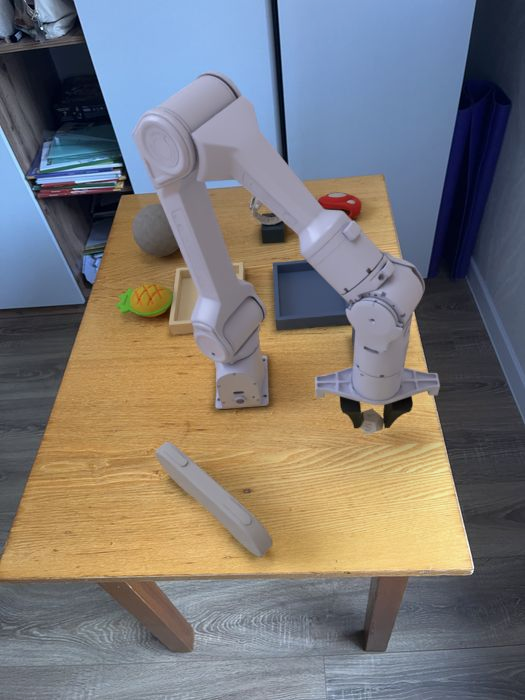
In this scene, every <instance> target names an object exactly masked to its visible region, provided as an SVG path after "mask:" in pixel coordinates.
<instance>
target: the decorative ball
mask: <svg viewBox="0 0 525 700" xmlns="http://www.w3.org/2000/svg"><path fill="white" fill-rule="evenodd" d="M131 230H132V231H131V232H132V237H133V239H134V241H135V243H136V245H137V246H138V248H140V250H142V251H143V252H144V253H146V254H147V255H150V256H152V257H167V256H170V255H172V254H173V253H175V252H176V251H178V249H180V248H179V246H178V243H177V241H176V238H175V236H174V234H173V231H172V229H171V226H170V224H169V221H168V219H167V217H166V214H165V212H164V209H163V207H162V205H161V203H152V204H148V205H147V206H144V207H142V208H141V209H140V210H139V211H138V212H137V214H135V216H134V218H133V222H132V227H131Z"/></svg>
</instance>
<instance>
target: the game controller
mask: <svg viewBox="0 0 525 700" xmlns="http://www.w3.org/2000/svg"><path fill="white" fill-rule="evenodd" d="M154 456H155V458H156V460H157V461H158V463H159V464H160V466H161V467H162V469H164V471H165V472H166V473H167V474H168V475H169V477H170V478H171V479H172V480H173V481H174V482H175V483H176V484H177V485H178V486H179V487H180V489H182V490H183V491H184V492H186V493H187V494H188V495H189V496H191V497H192V498H193V499H194V500H196V501H197V502H198V504H200V505H201V506H202V507H203V509H205V510H206V511H207V512H208V513H209V514H211V515H212V517H214V518H215V519H216V520H217V521H218V522H219V523H220V524H221V525H222V526H223V527H224V528H225V529H226V530H227V532H229V533H230V535H232V536H233V538H234V539H235V540H237V541H238V543H240V544H241V546H243V547H244V548H245V549H246V550H247V551H248V552H250V553H251V554H253V555H254V556H256V557H258V558H262V557H264V556H265V555H266V553H267V552H268V551H269V550H270V549H271V548H272V547H273V545H274V542H273V539H272V536H271V535H270V533H269V532H268V530H267V528H266V527H265V526H264V525H263V524H262V523H261V522H260V520H259V519H258V518H257V517H256V516H255V515H254V514H253V513H252V512H251V511H250V510H249V509H248V508H247V507H246V506H245V505H244V504H242V503H241V501H239V500H238V499H237V498H235V496H233V494H231V493H230V492H229V491H228V490H226V488H224V487H223V486H222V485H221V484H220V483H219V482H218V481H216V480H215V479H214V478H213V477H212V476H211V475H210V474H209V473H207V472H206V471H205V470H204V469H203V468H202V467H201V466H199V464H197V463H196V462H195V461H194V460H193V459H191V458H190V457H189V456H188V455H187V454H186V453H185V452H183V451H182V450H181V449H180V448H179V447H178V446H176V445H175V444H174V443H172V442H171V441H165V442H164V443H162V445H160V446H159V447H158V448H157V449H156V450H155V451H154Z"/></svg>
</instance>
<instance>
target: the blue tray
mask: <svg viewBox="0 0 525 700" xmlns="http://www.w3.org/2000/svg"><path fill="white" fill-rule="evenodd" d="M272 278H273V279H272V280H273V281H272V282H273V299H274V301H273V302H274V319H275V320H274V321H275V327H276V331H285V330H298V329H309V328H323V327H333V326H334V327H335V326H345V325H346V326H347V325H351V323H350V322H349V320H348V318H347V315H346V308H348V307H349V306H350V304H349V303H348V302H347V301H346V300H345V299H344V298H343V297H342V296H341V295H340V294H339V293H338V292H337V291H336V290H335V289H334V288H333V287H332V286H331V285H330V284H329V283H328V282H327V281H326V280H325V279H324V278H323V277H322V276H321V275H320V274H319V273H318V272H317V271H316V270H315V269H314V268H313V267H312V266H311V265H310V264H309V263H308V261H307V260H306V259H298V260H287V261H277V262H272ZM348 309H349V308H348Z"/></svg>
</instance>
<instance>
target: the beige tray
mask: <svg viewBox="0 0 525 700" xmlns="http://www.w3.org/2000/svg"><path fill="white" fill-rule="evenodd" d="M232 264H233V267H234V270H235V273H236V276H237V279H242V280H245V281H246V269H245V263H244V261H239V262H238V261H237V262H232ZM174 276H175V277H174V283H173V291H172V296H173V298H172V302H171V304H170V312H169V320H168V327H169V330H170V332H171V335H173V336H174V335H186V334H194V328H193V325H192V323H191V316H192V313H193V310H194V307H195V305H196V302H197V299H198V295H199V294H198V291H197V289H196V287H195V284H194V282H193V279H192V277H191V275H190V272H189V270H188V267H187V266H185V267H176V269H175V275H174Z"/></svg>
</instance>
